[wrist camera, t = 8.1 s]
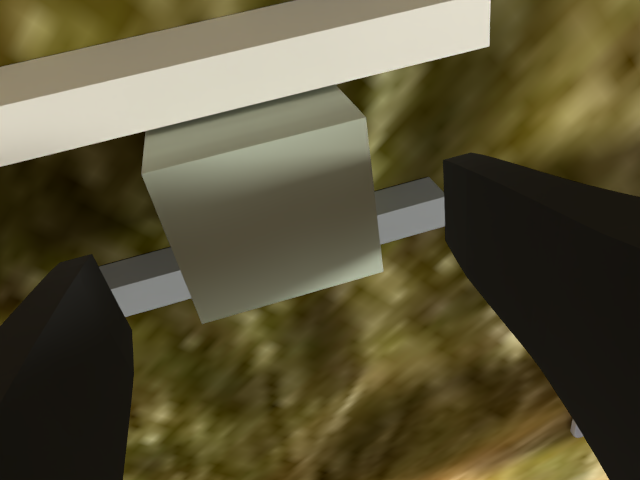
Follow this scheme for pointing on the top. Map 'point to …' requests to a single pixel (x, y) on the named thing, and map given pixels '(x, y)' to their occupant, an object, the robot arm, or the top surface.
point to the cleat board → (229, 94)
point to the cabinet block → (266, 200)
